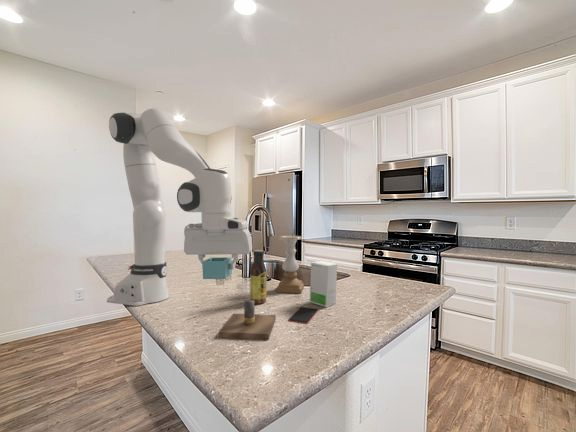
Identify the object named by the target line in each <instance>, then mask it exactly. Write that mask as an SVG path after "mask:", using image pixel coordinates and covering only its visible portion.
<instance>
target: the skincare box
mask: <svg viewBox="0 0 576 432" xmlns="http://www.w3.org/2000/svg"><path fill="white" fill-rule="evenodd" d="M337 275H338V263H334V262H330V261H324V260H316V261H313V262H312V261H311V262H310V282H309V283H310V284H309V285H310V286H309V287H310V288H309V303H311V304H314V305H318V306H320V307H325V308H328V307H330V306H333V305H335V304H336V300H337V283H338V282H337Z"/></svg>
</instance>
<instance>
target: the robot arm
mask: <svg viewBox="0 0 576 432" xmlns="http://www.w3.org/2000/svg"><path fill="white" fill-rule="evenodd" d="M108 129H109V133H110V135H111V138H112V139H113V140H114V141H115V142H117V143H119V144H120V143H121V144H123V147H122V148H123V150H122V154H123V155H122V156H123V157H122V158H123V163H124V169H125V175H126V180H127V186H128V190H129V193H130V198H131V202H132V207H133V213H132V223H133V225H132V227H133V242H134V243H133V245H134V247H133V248H134V263H133V264H132V265H130V266H128V269H127V270H130V272H129V274H128V275H127V276H125V277H124V278H122V279H121V280H120V281H119V282H118V283H117V284H116V285H115V286H114V290H113V295H111V296H109V297H107V299H106V303H110V304H118V305H125V306H133V307H138V306H142V305H145V304H146V305H147V304H152V303H158V302H162V301H164V300H166V299H168V298H170V296H171V295H170V291H169V288H168V283H167V277H166V276H167V273H168V271H167V270H168V269H167V262H166V211H165V209H164V208H165V207H164V203H163V197H162V191H161V186H160V185H161V184H160V179H159V174H158V168H157V163H156V159H155V157H156V158H157V159H158V160H160V161H162V162H164V163H168V164H171V165H174V166H177V167H179V168H182V169H184V170H186V171H188V172H190V173H191V174H192V175H193V176H194V178H193V179H190V180H189V181H185V182H183V183H182V184H181V185H180V186H179V187H178V189H177V192H176V201H177V204H178V206H179V208H180V209H181V210H183V211H184V212H187V213H201V223H199V222H198V223H189V224H186V225H185V227H184V229H183V235H184V241H183V251H184V253H185V254H186V255H187V256H188V255H190V256H194V255H197V259H198V260H199V262H200V263H201V265H202V262H203V261H205V260H206V259H205V258H206V255H214V256H215V255H231V258H232V263H229V264H228V266H229V269H232V270H235V269H236V262H237V260H238V259H239V255H249V254H250V253H251V252H252V250H253V242H252V236H251V232H250V230H249V229H248V226H249V223H248V221H247V220H244V219H241V218H237V217H234V216H233V212H232V208H231V202H232V196H233V195H232V186H231V181H230V180H231V179H230V176H229V173H228V172H227V171H225V170H223V169H215V168H214V169H213V168H211V167H210V166H209V165H208V164H207V162H206V161H205V159H204V158H203V157H202V155H200V153H198V152H197V150H196V149H194V148H193V147H192V145H191V144H190V143H189V142H188V141H187V140H186V139H185V138H184V137H183V135H182V133H181V132H180V131H179V129H178V128H177V126H176V125H175V123H174V121H173V120H172V119H171V118H170V117H169V116H168V115H167V114H166V113H165V112H164V111H163V110H162V109H159V108H155V107H153V108H148V109H146V110H144V111H143V112H142V113H129V112H128V113H127V112H116V113H112V115H111V116H110V117H109V120H108ZM202 270H203V265H202Z"/></svg>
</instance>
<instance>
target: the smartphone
mask: <svg viewBox="0 0 576 432" xmlns="http://www.w3.org/2000/svg"><path fill="white" fill-rule="evenodd" d="M318 312H319V309H318V308H311V307H305V306H301V307H299V308H298V309H297V310H296V311H295V312H294V313H293V314H292V315H291V316H290V317H289V318H288V319H287V321H288V322H290V323H295V324H303V325H308V324H309V323H310V322H311V321H312V319H313V318H314V317H315V316H316V315H317V313H318Z"/></svg>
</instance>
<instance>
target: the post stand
mask: <svg viewBox="0 0 576 432" xmlns="http://www.w3.org/2000/svg"><path fill="white" fill-rule="evenodd" d="M243 305H244V307H243V309H244V311H243V313H232V315H231V316H230V317H229V318H228V319H227V321H226V322H225V323H224V324H223V326H222V327H221V329H220V330H219V331H218V338H225V339H226V338H228V339H229V338H231V339H248V340H249V339H251V340H269V339H270V336H271V333H272V331H273V328H274V325H275V322H276V320H277V319H276V314H257V313H256V314H255V304H254V300H251V299H247V300H246V299H245V300H244V303H243Z"/></svg>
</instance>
